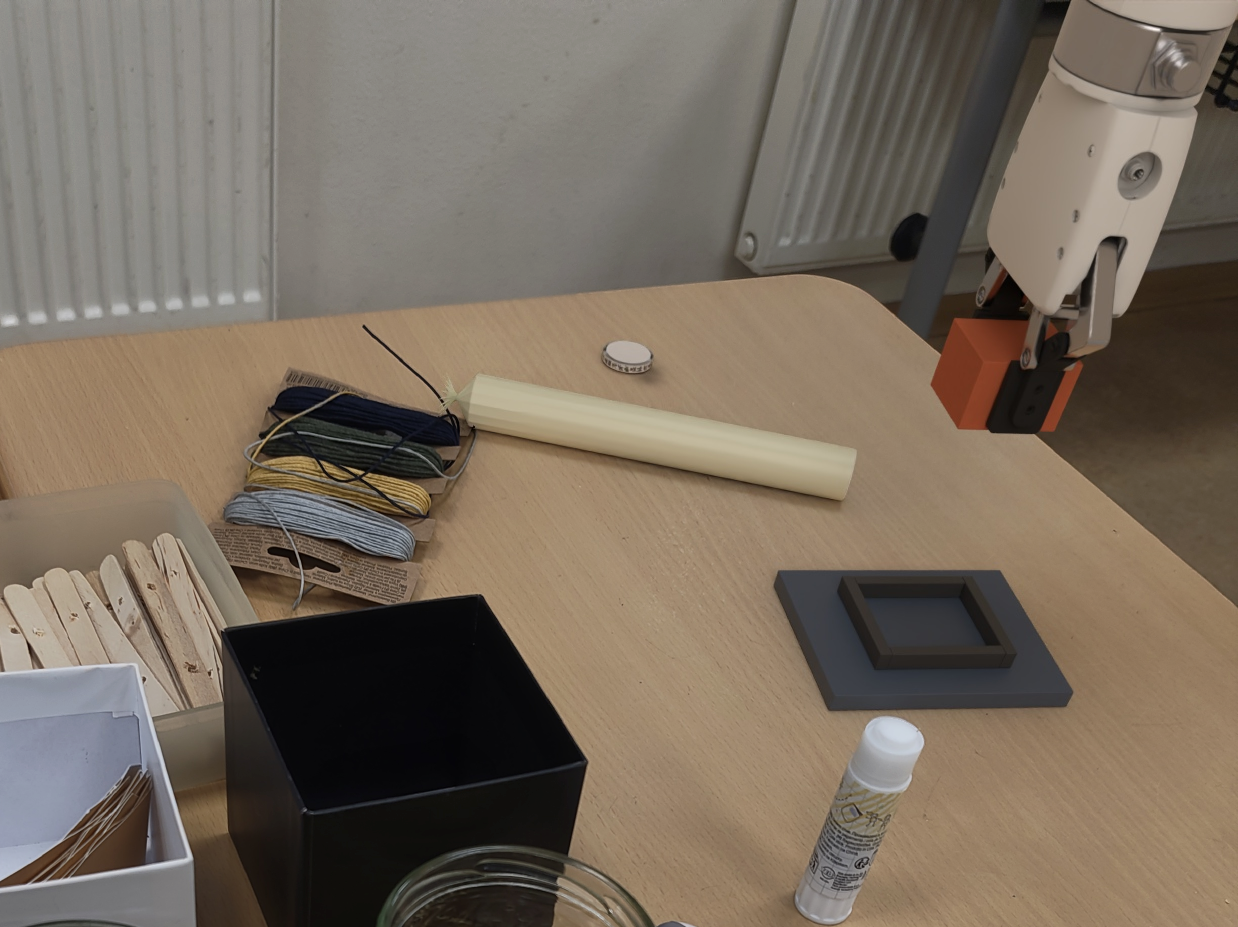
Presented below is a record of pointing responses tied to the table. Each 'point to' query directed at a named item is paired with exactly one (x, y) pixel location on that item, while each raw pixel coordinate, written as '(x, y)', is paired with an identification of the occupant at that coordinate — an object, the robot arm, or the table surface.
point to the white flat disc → (627, 356)
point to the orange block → (987, 370)
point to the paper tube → (655, 436)
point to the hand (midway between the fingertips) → (994, 401)
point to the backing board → (919, 640)
